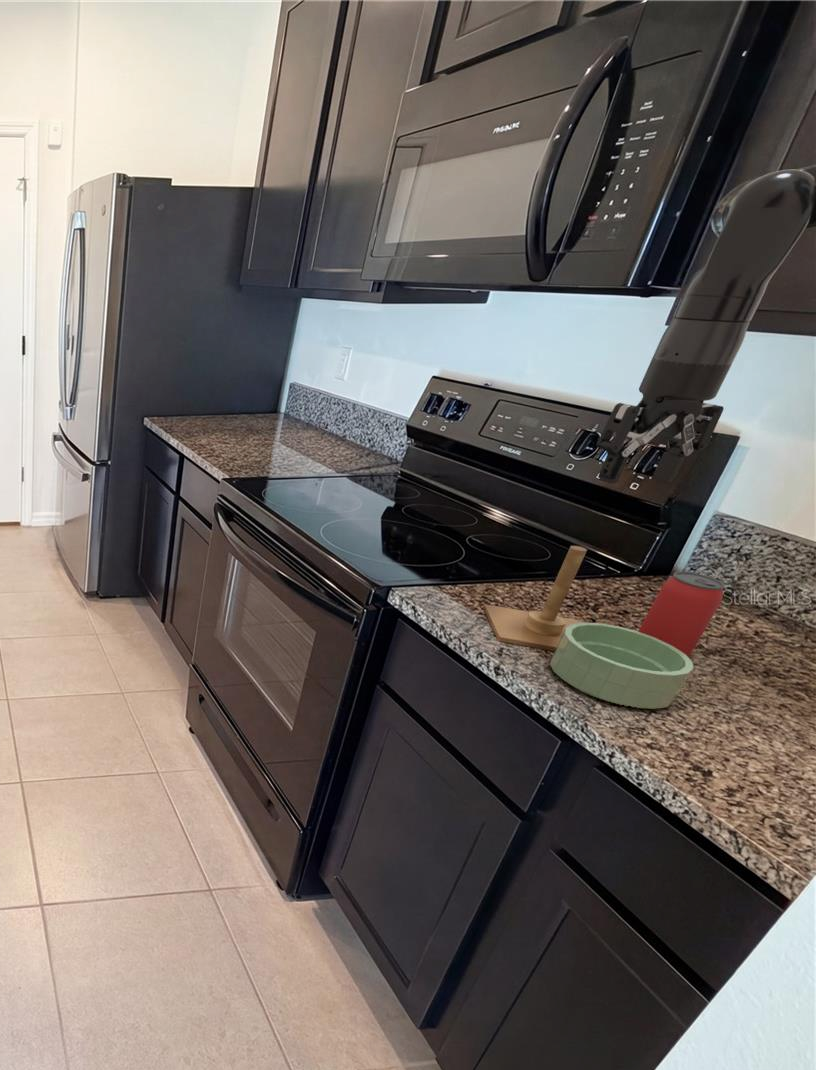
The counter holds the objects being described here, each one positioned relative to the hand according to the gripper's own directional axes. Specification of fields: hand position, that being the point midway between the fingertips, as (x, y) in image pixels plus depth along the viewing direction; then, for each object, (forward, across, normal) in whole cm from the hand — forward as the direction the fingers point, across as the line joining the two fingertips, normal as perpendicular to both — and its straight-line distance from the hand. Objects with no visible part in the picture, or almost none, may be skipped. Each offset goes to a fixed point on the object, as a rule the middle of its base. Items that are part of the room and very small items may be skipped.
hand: (634, 481), depth 90 cm
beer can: (+26, +14, -4) cm, 30 cm away
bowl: (+26, -3, -11) cm, 28 cm away
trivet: (+26, -1, +3) cm, 26 cm away
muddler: (+25, -1, +3) cm, 25 cm away
